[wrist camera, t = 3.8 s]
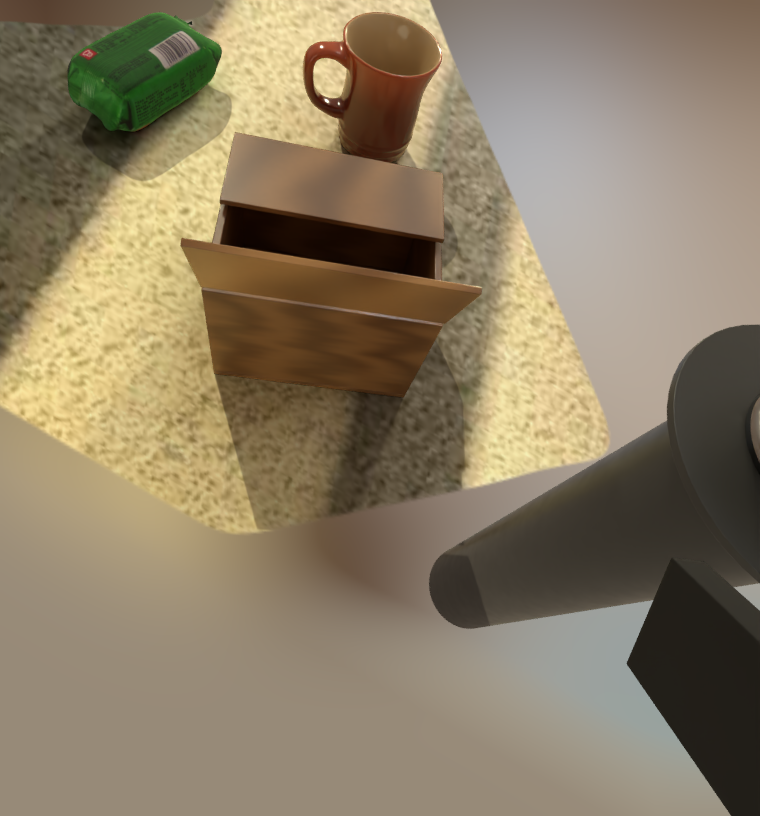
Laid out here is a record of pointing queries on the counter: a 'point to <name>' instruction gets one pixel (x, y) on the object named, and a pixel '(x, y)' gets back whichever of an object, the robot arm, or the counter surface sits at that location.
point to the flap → (325, 282)
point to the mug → (377, 82)
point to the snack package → (142, 71)
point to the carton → (331, 242)
